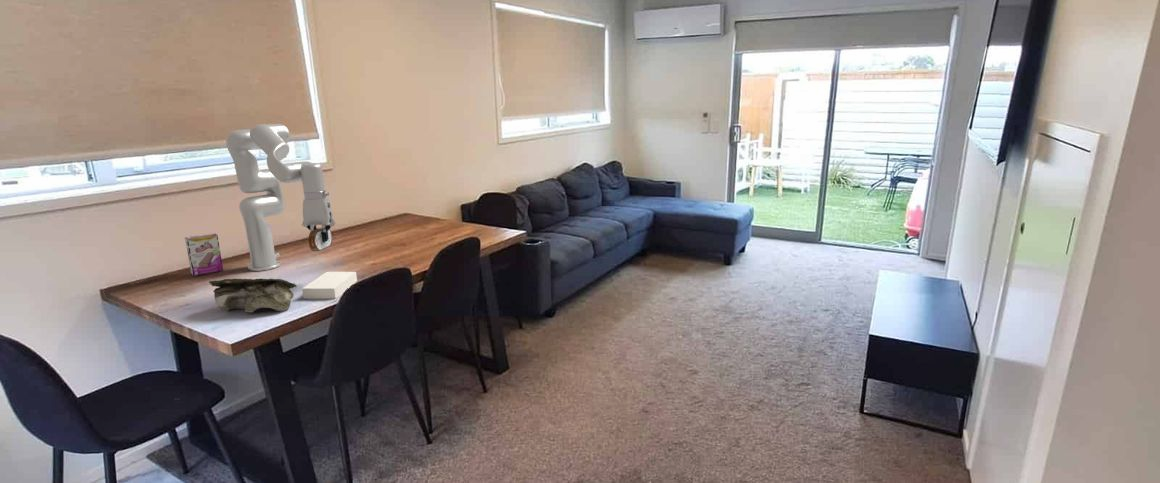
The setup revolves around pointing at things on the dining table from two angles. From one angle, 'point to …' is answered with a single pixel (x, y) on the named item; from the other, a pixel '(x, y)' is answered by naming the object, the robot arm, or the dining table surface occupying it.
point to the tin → (319, 240)
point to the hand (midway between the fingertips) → (321, 241)
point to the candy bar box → (204, 254)
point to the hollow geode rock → (253, 294)
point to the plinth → (329, 285)
